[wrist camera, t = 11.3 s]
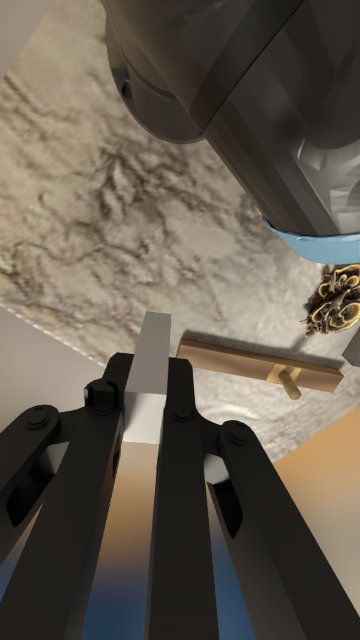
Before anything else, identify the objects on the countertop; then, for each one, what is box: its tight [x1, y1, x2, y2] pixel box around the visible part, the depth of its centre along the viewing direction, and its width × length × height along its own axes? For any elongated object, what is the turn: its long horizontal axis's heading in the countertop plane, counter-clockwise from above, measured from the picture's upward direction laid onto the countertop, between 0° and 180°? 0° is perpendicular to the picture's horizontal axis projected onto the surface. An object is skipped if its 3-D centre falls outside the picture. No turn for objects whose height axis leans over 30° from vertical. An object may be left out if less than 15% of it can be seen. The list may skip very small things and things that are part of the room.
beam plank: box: [176, 339, 344, 400], centre depth 41 cm, size 4×30×7 cm, turn 76°
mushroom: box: [300, 264, 360, 337], centre depth 38 cm, size 12×8×4 cm, turn 164°
